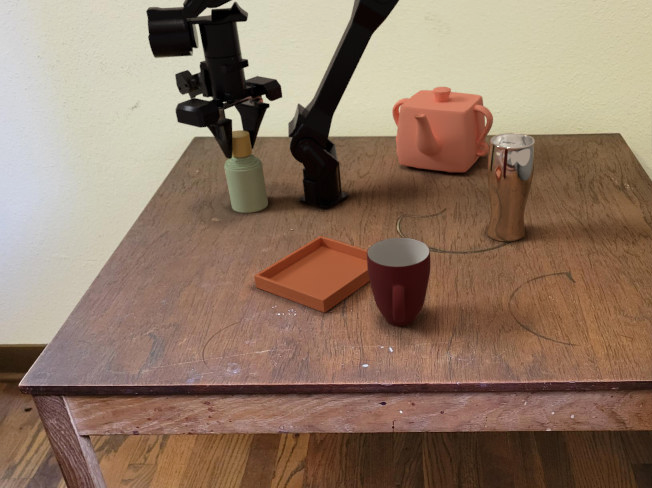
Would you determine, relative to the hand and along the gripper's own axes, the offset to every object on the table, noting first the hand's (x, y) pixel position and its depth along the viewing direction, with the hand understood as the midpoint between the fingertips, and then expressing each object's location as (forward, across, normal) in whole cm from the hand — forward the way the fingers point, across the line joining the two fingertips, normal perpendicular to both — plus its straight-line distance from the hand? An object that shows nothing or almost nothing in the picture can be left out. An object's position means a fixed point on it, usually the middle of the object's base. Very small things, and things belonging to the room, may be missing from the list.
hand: (239, 153), depth 121 cm
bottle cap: (0, 0, 0) cm, 0 cm away
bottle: (+9, 0, 0) cm, 9 cm away
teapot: (+10, -32, +19) cm, 38 cm away
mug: (+10, +17, +45) cm, 49 cm away
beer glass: (+10, -14, +44) cm, 47 cm away
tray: (+9, +13, +28) cm, 32 cm away
